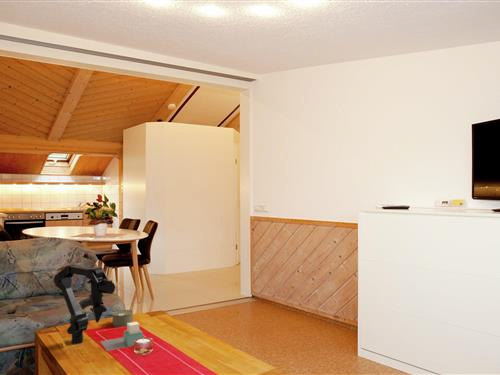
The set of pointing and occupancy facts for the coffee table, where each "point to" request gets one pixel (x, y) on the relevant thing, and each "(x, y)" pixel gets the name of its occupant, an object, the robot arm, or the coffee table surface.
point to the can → (122, 318)
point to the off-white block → (132, 327)
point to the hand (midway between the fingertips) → (97, 322)
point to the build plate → (122, 341)
